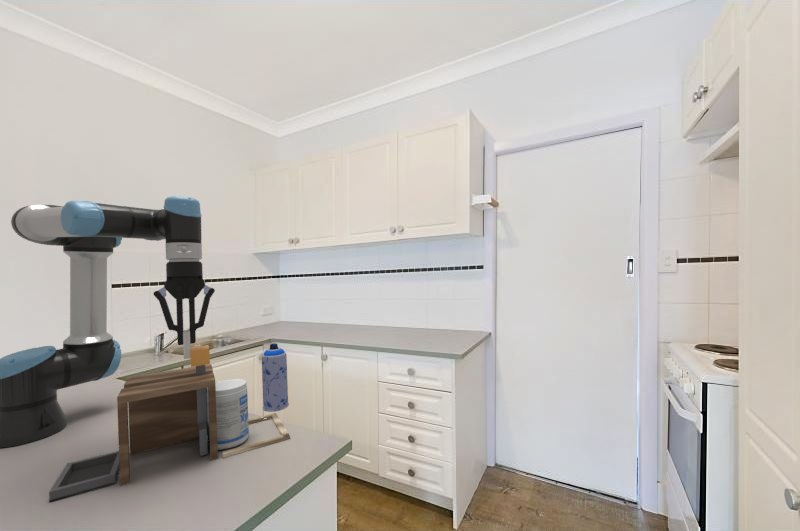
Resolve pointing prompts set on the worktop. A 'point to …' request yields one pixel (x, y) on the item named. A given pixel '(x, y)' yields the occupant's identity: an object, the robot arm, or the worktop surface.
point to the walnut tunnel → (162, 412)
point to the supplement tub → (230, 413)
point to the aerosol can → (274, 379)
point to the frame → (262, 443)
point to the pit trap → (86, 476)
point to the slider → (201, 392)
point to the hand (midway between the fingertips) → (187, 357)
